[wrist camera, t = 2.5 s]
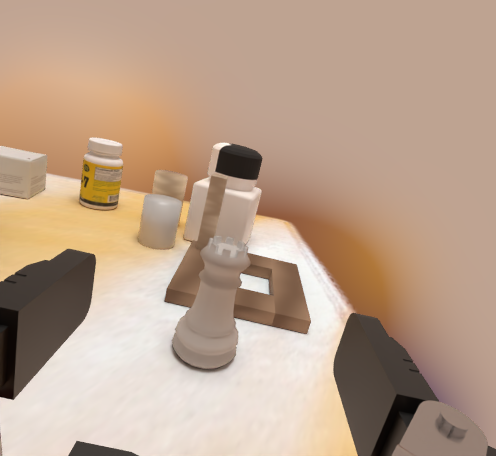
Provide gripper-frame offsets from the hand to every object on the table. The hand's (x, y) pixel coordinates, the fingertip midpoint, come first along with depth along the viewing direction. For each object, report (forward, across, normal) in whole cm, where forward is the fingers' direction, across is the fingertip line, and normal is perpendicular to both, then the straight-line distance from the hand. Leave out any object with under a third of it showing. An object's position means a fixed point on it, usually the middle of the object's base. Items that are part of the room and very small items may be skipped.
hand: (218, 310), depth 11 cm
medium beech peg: (+36, +9, +9) cm, 38 cm away
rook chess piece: (+12, 0, +10) cm, 15 cm away
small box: (+35, +28, +9) cm, 46 cm away
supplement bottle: (+37, +18, +9) cm, 42 cm away
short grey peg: (+29, +8, +9) cm, 31 cm away
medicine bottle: (+34, +2, +10) cm, 36 cm away
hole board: (+23, -2, +10) cm, 25 cm away
